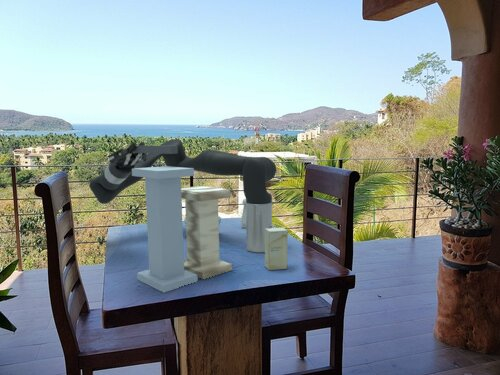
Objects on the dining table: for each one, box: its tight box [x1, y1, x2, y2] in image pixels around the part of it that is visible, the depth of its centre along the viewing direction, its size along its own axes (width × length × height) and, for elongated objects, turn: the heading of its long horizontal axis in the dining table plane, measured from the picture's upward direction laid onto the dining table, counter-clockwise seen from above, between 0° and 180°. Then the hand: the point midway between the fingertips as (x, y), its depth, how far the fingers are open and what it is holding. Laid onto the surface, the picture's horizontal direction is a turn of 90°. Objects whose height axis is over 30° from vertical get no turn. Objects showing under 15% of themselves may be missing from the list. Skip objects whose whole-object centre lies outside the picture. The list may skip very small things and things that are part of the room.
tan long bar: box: [125, 145, 178, 154], centre depth 119 cm, size 26×2×2 cm, turn 45°
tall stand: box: [132, 165, 198, 294], centre depth 109 cm, size 14×11×32 cm
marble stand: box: [181, 185, 233, 280], centre depth 118 cm, size 14×11×25 cm
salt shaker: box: [240, 198, 246, 229], centre depth 174 cm, size 6×6×13 cm
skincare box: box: [264, 227, 289, 271], centre depth 120 cm, size 6×4×12 cm
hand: (139, 144), depth 123 cm, fingers closed on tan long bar, 2 cm apart
